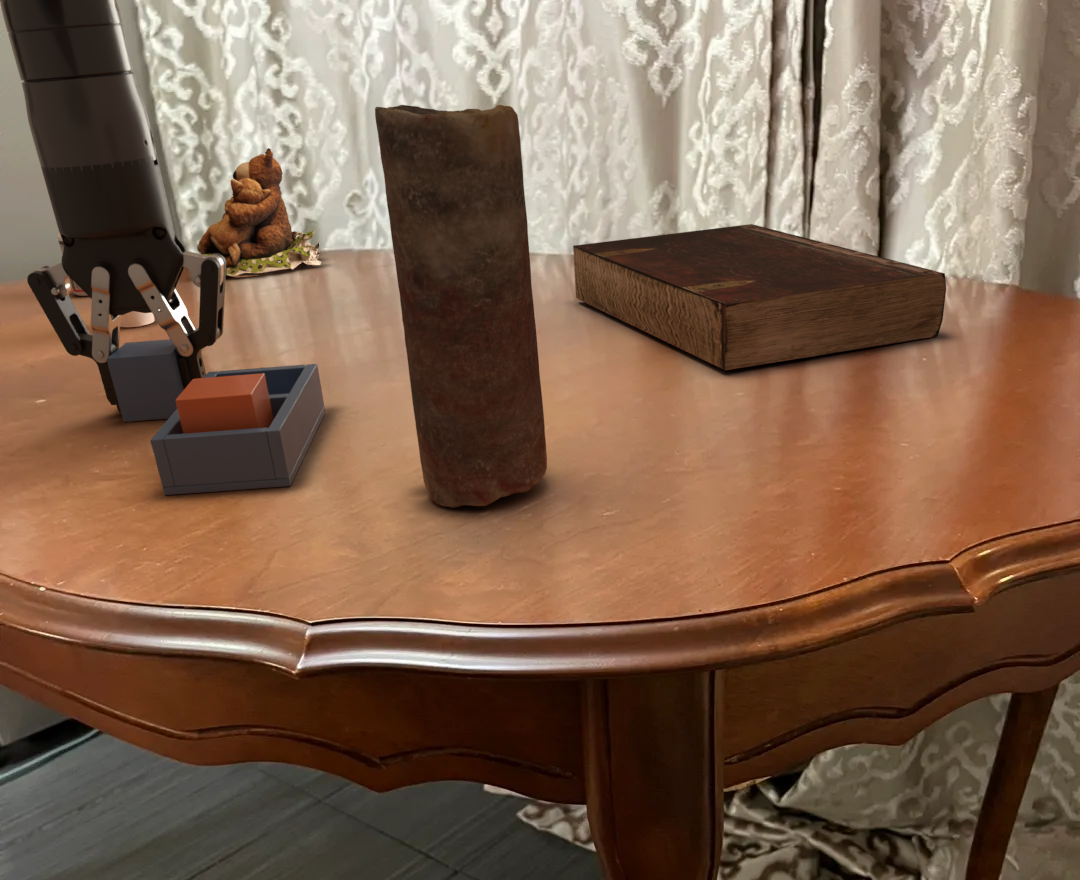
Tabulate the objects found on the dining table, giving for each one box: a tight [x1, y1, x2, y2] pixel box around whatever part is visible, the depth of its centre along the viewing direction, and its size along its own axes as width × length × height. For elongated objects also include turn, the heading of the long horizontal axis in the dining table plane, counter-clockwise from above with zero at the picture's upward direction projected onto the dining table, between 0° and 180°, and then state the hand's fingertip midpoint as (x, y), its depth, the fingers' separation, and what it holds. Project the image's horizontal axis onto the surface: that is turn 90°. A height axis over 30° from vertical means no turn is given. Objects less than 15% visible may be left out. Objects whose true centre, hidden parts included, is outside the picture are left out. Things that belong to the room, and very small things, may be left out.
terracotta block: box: [176, 373, 274, 434], centre depth 70 cm, size 5×5×5 cm
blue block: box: [107, 338, 184, 423], centre depth 83 cm, size 5×5×5 cm
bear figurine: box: [196, 148, 323, 279], centre depth 129 cm, size 14×15×12 cm
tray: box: [150, 363, 326, 496], centre depth 73 cm, size 8×15×4 cm, turn 1°
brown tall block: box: [374, 104, 548, 508], centre depth 60 cm, size 8×7×20 cm
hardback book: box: [572, 223, 947, 371], centre depth 94 cm, size 29×19×5 cm, turn 20°
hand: (162, 405), depth 84 cm, fingers closed on blue block, 4 cm apart
